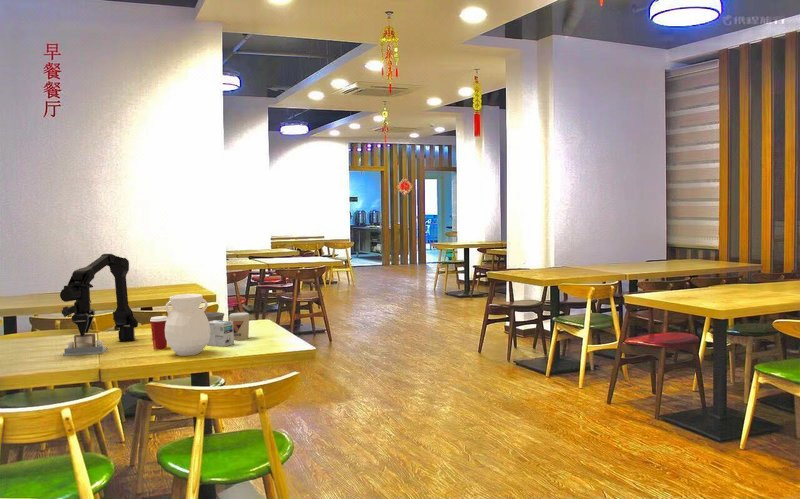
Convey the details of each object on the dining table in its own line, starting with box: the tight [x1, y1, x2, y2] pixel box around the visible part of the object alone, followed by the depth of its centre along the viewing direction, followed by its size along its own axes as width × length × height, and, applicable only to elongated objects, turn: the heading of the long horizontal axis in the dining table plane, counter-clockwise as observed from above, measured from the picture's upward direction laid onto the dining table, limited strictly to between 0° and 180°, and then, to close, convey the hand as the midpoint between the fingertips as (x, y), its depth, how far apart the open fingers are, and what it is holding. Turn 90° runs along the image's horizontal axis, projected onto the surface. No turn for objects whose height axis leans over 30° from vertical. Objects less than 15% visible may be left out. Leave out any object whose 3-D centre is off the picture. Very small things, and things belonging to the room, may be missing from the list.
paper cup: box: [149, 315, 168, 351], centre depth 303 cm, size 8×8×14 cm
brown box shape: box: [73, 333, 97, 348], centre depth 297 cm, size 8×3×7 cm, turn 105°
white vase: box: [164, 293, 210, 357], centre depth 289 cm, size 19×18×25 cm
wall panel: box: [62, 339, 108, 357], centre depth 298 cm, size 16×11×5 cm
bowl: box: [204, 311, 225, 321], centre depth 338 cm, size 21×21×10 cm
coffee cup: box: [228, 312, 250, 341], centre depth 322 cm, size 9×9×12 cm
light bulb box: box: [206, 320, 235, 348], centre depth 308 cm, size 11×7×11 cm, turn 65°
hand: (84, 334), depth 297 cm, fingers open, 9 cm apart
